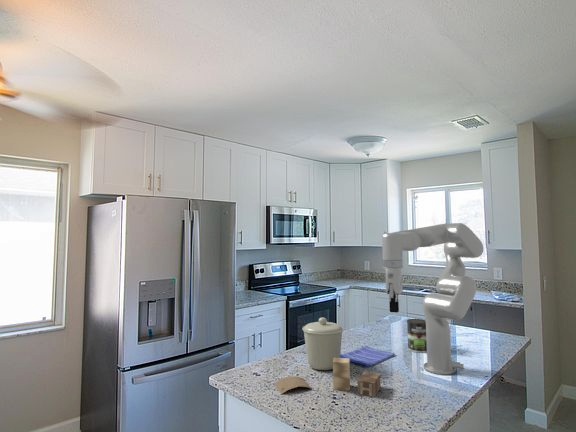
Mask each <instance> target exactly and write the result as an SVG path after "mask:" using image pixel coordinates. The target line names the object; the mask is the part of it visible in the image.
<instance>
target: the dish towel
mask: <svg viewBox="0 0 576 432" xmlns="http://www.w3.org/2000/svg"><path fill="white" fill-rule="evenodd" d="M395 355H396V353H394V352H389V351H384V350H381V349H375V348H373V347H370V346H367V345H363V346H362V347H360V348H356V349H354V350H352V351H348V352H345V353H340V358H350V364H353V365H355V366H359V367H362V368H366V369H368V368H369V367H373V366H375V365H378V364H381V363H382V362H384V361H387V360H389V359H391V358H393V357H394V356H395Z"/></svg>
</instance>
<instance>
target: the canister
mask: <svg viewBox="0 0 576 432" xmlns="http://www.w3.org/2000/svg"><path fill="white" fill-rule="evenodd" d="M344 330H345V329H344V327H343V326H341V325H340V324H338V323H335V322H331V321H328V320H327V318H325V317H320V318H318V321H314V322H309V323H307V324H305V325H303V326H302V331H303V334H304V335H303V336H304V343H305V353H306V358H307V363H308V365H309V366H310V367H311V368H312V369H315V370H318V371H330V370H333V359H334V358H340V354H341V349H342V339H343V338H342V337H343V332H344Z"/></svg>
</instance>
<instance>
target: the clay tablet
mask: <svg viewBox="0 0 576 432" xmlns="http://www.w3.org/2000/svg"><path fill="white" fill-rule="evenodd" d="M309 385H310V384H309V383H308V382H307V381H306V380H305V378H303V377H300V376H295V375H294V376H287V377H286V376H285V377H283V378H280V379H278V381H276V382H274V384H273V386H275V388H276V389H277V391H278V392H280V393H281V394H280V393H279V394H280V395H283V394H284V393H286V392H287V391H289V390H291V389H295V388H298V387H301V388H309V389H310V390H312V389H313V387H310V386H311V385H310V386H309Z"/></svg>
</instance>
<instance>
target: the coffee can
mask: <svg viewBox="0 0 576 432" xmlns="http://www.w3.org/2000/svg"><path fill="white" fill-rule="evenodd" d="M406 323H407V325H406V327H407V329H406V330H407V350H409V351H411V352H413V353H419V354H420V353H421V354H422V353H424V354H425V353H427V341H426V321H425V319H421V318H408V319H407V320H406Z"/></svg>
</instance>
